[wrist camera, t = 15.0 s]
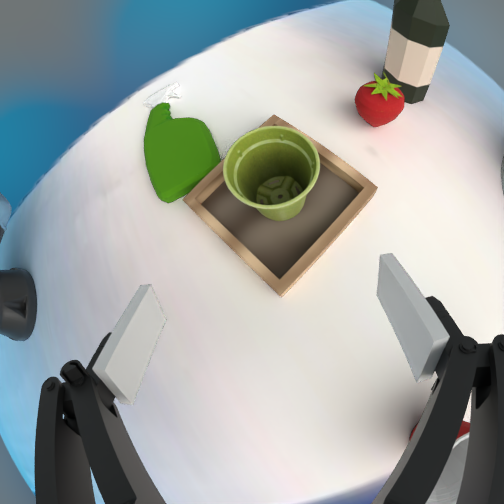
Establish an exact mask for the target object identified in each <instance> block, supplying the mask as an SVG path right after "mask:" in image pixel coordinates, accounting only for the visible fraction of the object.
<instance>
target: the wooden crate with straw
mask: <svg viewBox="0 0 504 504" xmlns="http://www.w3.org/2000/svg"><path fill="white" fill-rule="evenodd" d="M501 179H502V188H503V194H504V157H503V160H502V167H501Z"/></svg>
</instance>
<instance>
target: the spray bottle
mask: <svg viewBox="0 0 504 504" xmlns="http://www.w3.org/2000/svg"><path fill="white" fill-rule="evenodd" d="M178 86H179V84H178V83H177V82H175V83H173V84H170V85H168V86H166V87H165V88H163V89H161V90H159V91H158V92H156V93H154V94H153V95H151V96H150V97H148V98H147V99H146V100H145V101H144V102H143V103H144V105H145V106H146V107H152V108H153V109H152V110H151V112H150V115H149V118H148V122H147V126H146V131H145V137H144V154H145V161H146V167H147V170H148V173H149V176H150V180H151V183H152V185H153V187H154V189H155V191H156V194H157V196H158V197H159V198H160V199H161V200H162V201H164V202H167V203H170V202H173V201H175V200H177V199H178V198H180V197H182V196H184V195H186V194H188V193H190V192H191V191H192V189H193V188H194V187H195V186H196V185H197V184H198V183H199V182H200V181H201V180H203V179H204V178H205V177H206V176H207V175H208V174H209V173H210V172H211V171H212V170H213V169H214V168H215V167H216V166H217V165H218V164H219V163H220V162H221V161H220V157H219V153H218V150H217V147H216V145H215V142H214V140H213V138H212V135H211V133H210V130H209V129H208V128H207V126H206V125H205V124H204V122H202V121H200V120H198V119H195V118H175V119H172V118H171V116H170V111H169V108H170V105H169V103H166V102H167V100H168V99H169V97H174V98H181V96H179V95H177V94H175V93H173V92H174V89H175V88H176V87H178Z"/></svg>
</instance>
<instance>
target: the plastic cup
mask: <svg viewBox="0 0 504 504" xmlns="http://www.w3.org/2000/svg"><path fill="white" fill-rule="evenodd" d="M417 425H418V424H417ZM417 425H416V426H415V428H414V429H413V430H412V433H411V436H410V440H411V438H412V436H413V434H414V432H415V430H416V428H417ZM469 432H470V423H469V422H465V421H462V424H461V427H460V430H459V433H458V435H457V438H456V441H455V443H454V446H453V449H452V451H451V453H450V456H449V458H448V460H447V463H446V465H445V467H444V469H443V472H442V474H441V476H440V478H439V480H438V482H437V484H436V486H435V488H434V490H433V491H432V493H431V495H430V497H429V499H428V500H427V502H426V504H456V502H457V499H458V495H459V491H460V487H461V482H462V478H463V473H464V467H465V462H466V456H467V449H468V441H469Z"/></svg>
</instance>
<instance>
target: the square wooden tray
mask: <svg viewBox="0 0 504 504" xmlns="http://www.w3.org/2000/svg"><path fill="white" fill-rule="evenodd" d="M265 126H283V127H288V128H291V129H294V130H296V131H298V132H300V133H302V134H303V135H305V136H306V137H307V138H308V139H309V140H310V141H311V142H312V143H313V145H314V146H315V148H316V150H317V152H318V155H319V159H320V171H319V175H318V178H317V181H316V183H315V185H314V186H313V188H312V189H311V190H310V191H309V193H308V194H307V195H306V199H305V203H304V206H303V208H302V209H301V211H300V212H299V213H298V214H297V215H296V216H295V217H293V218H291V219H289V220H285V221H275V220H272V219H269V218H267V217H265V216H264V215H262V214H261V213H260V212H259V211H258V210H257V209H256V208H254V207H251V206H249V205H247V204H245V203H243V202H241V201H240V200H238V199H237V198H236V197H235V196H234V195H233V194H232V192H231V191H230V190H229V188H228V187H227V185H226V182H225V179H224V175H223V164H224V160H225V158H224V159H223V160H222V161H221V162H220V163H219V164H218V165H217V166H216V167H215V168H214V169H213V170H212V171H211V172H210V173H209V174H208V175H207V176H206V177H205V178H204V179H203V180H201V181H200V182H199V183H198V184H197V185H196V186H195V187H194V188H193V189H192V191H191V192H190V193H189V194H188V195H187V196H186V197H185V198H184V199H183V201H184V202H185V203H186V204H187V205H188V206H189V207H190V208H191V209H192V210H193V211H194V212H195V213H196V214H197V215H198V216H199V217H200V218H201V219H202V220H203V221H204V222H205V223H206V224H207V225H208V226H209V227H210V228H211V229H212V230H213V231H214V232H215V233H216V234H217V235H218V236H219V237H220V238H221V239H222V240H223V241H224V242H225V243H226V244H227V245H228V246H229V247H230V248H231V249H232V250H233V251H234V252H235V253H236V254H237V255H238V256H239V257H240V258H242V259H243V260H244V261H245V262H246V263H247V264H248V265H249V266H250V267H251V268H252V269H253V270H254V271H255V272H256V273H257V274H258V275H259V276H260V277H261V278H262V279H263V280H264V281H265V282H266V283H267V284H268V285H269V286H270V287H271V288H272V289H273V290H274V291H275V292H276V293H277V294H278V295H279V296H281V297H283V296H284V295H285V293H286V292H287V291H288V290H289V289H290V288H291V287H292V286H293V285H294V284H295V283H296V282H297V281H298V280H299V279H300V278H301V277H302V276H303V275H304V274H305V273H306V271H307V270H308V269H309V268H310V267H311V266H312V265H313V264H314V263H315V262H316V261H317V260H318V259H319V257H320V256H321V255H322V254H323V253H324V252H325V251H326V250H327V249H328V248H329V246H330V245H331V244H332V243H333V242H334V241H335V240H336V239H337V238H338V236H339V235H340V234H341V233H342V232H343V231H344V230H345V229H346V227H347V226H348V225H349V224H350V223H351V222H352V221H353V219H354V218H355V217H356V216H357V215H358V214H359V213H360V211H361V210H362V209H363V208H364V207H365V206H366V204H367V203H368V202H369V201H370V200H371V198H372V197H373V196H374V194H375V192H376V190H377V188H378V187H377V186H375V185H374V184H373V183H372V182H371V181H369V180H368V179H367V178H366V177H364V176H363V175H362V174H360V173H359V172H358V171H357V170H355V169H354V168H353V167H351V166H350V165H349V164H347V163H346V162H345V161H343V160H342V159H341V158H339V157H338V156H336V155H335V154H334V153H332V152H331V151H329V150H328V149H327V148H325V147H324V146H322V145H321V144H319V143H318V142H317V141H315V140H314V139H312V138H311V137H309V136H308V135H306V134H305V133H303V132H301V131H300V130H298V129H297V128H295V127H294V126H292V125H290V124H289V123H287V122H286V121H284V120H282V119H281V118H279V117H277V116H276V115H273V116H272V117H270V118H269V119H268V120H267V121H266V122H265V123H263V124H262V125H261V126H260V127H259V128H261V127H265ZM277 182H279V180H275V181H273V182H270V183H269V185H271V184H274V183H277ZM295 188H296V190H297V193H298V195H300V194H301V193H300V190H299V189H298V188H297V187H295ZM278 198H282V195H279V196H278ZM260 203H261V205H264V203H263V200H262V199H261V201H260Z"/></svg>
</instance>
